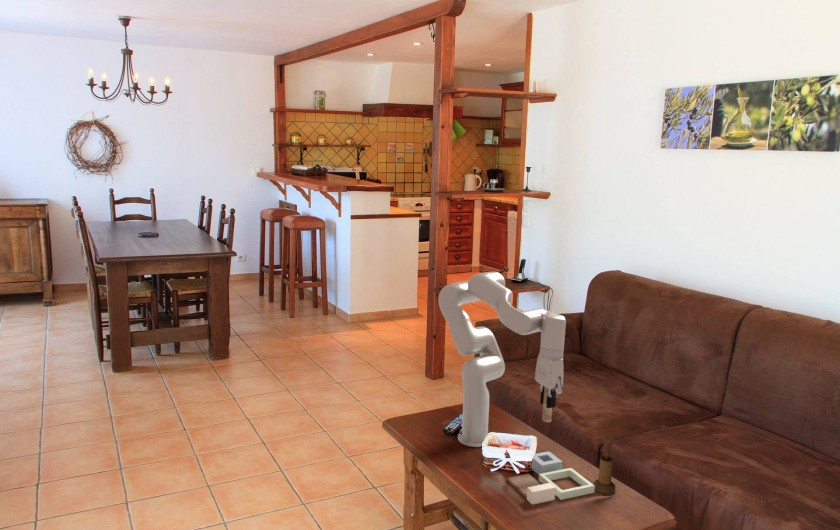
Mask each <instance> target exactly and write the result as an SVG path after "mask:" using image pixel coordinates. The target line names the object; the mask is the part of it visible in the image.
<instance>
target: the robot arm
mask: <svg viewBox="0 0 840 530" xmlns="http://www.w3.org/2000/svg"><path fill="white" fill-rule="evenodd" d="M513 297H514V296H513V292H512V290H510V289H509V288H508V287H506V280H505V278H504V276H503V275H502V274H501V273H500V272H497V271H486V272H479V273H475V274H474V275H472V276H471V277H470V278H469V280H463V281H457V282H452V283H449V284H447V285H445V286H444V287H443V288H442V289H441V290H440V292H439V294H438V307H439V310H440V312H441V314H442V316H443V318H444V320H445V321H446V323H447V326H448V330H449V332H450V335H451V337H452V339H453V342H454V345H455V348H456V350H457V352H458V353H459V354H460V356H464V357H466V356H467V357H468V356H473V355H476V354H479V356H476V357H472V358H470V359H468V360H467V361H465V362H464V363H463V364H462V367H461V379H462V385H463V386H462V387H463V388H462V389H463V394H462V395H463V396H462V399H463V400H462V422H461V423H460V427H462V429H461V432H462V435H461V434H460V433H458V435H457V441H458V442H459V443H460V444H462V445H463V446H467V447H471V448H482V447H481V445H482V442H483V440H484V439H485V437H486V436H487V434H489V413H490V392H489V389H488V387H487V384H486V383H488V382H491V381H494V380H497V379H500V377H503V375H504V373H505V369H506V364H505V361H504V358H503V355H502V352H501V350H500V348H499V345H498V342H497V339H496V337H495V335H494V333H493V332H492V331H491V329H489V328H488V327H486V326H475V327H474V325H473V324H472V320H471V317H470V316H469V315H468V313H467V312H466V310H464V309H463V308H462V307H461V306H462V305H467V304H473V303H477V302H483V303H485V304H486V305H488V306H490V308H492V309H494V310H495V312H496V315H497V318H498V319H499V321H500V322H501V323H502V325H503V326H505V327H506V328H508V329H509V330H511V331H512V332H514V333H516V334H519V335H521V336H527V335H531V334H535V333H539V332H540V346H539V347H540V348H539V353H538V356H537V360H536V363H535V364H536V365H535V374H534V380H535V381H536V383H538V384H539V391H540V399H539V404H540V405H543V401H544V389H545V387H546V388H547V389H548V396H547V403H546V408H552V409H553V408H556V403H557V397H558V395H559V394H562V393H563V390H562V388H563V386H564V370H565V369H564V353H565V351H564V350H565V341H566V338H565V336H566V326H567V319H566V317H565V316H564V315H561V314H558V313H553V312H550V311H548V310H546V309H544V308H538V307H537V308H534V309H529V310H524V311H522V310H521V311H520V310H519V309H518V308H515V307H514V306H513V305H511V304H512V302H513ZM552 390H554V391H552Z"/></svg>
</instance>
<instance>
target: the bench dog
mask: <svg viewBox="0 0 840 530" xmlns="http://www.w3.org/2000/svg"><path fill="white" fill-rule="evenodd" d="M555 498H556V495H555V487H554V486H553V485H552V484H551V483H547V484H542V483H541V485H537V486H532V487H528V488H527V499H526V500H527V501H528V503H529V504H531V505H536V504H541V503H546V502H551V501H554V500H555Z"/></svg>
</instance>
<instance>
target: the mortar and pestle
mask: <svg viewBox="0 0 840 530" xmlns="http://www.w3.org/2000/svg"><path fill="white" fill-rule="evenodd" d="M602 444H603V446H604V449H603V455H601V456H600V457H599V467H598V468H599V469H598V479H596V480H595V481H593V485H594V486H595V489H594V491H597V492H598V493H601V496H602V497H611V496H614V495H615V494H616V493H615V492H616V484H615V483H614V482H613V481H612V475H613V474H612V473H613V465H614V459H613V457H612V456H611V453H612V451H611V450H610V449H611V448H612V446H613V444H614V442H613V439H612V438H611V437H610V436H605V437H603V439H602Z"/></svg>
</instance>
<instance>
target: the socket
mask: <svg viewBox="0 0 840 530" xmlns="http://www.w3.org/2000/svg"><path fill="white" fill-rule="evenodd" d="M534 454H535V455H534V457H533V459H532V469H531V470H533V472H535V473H536V474H537V475H538V476H539V474H542V473H547V472H552V471H557V470H562V469H563V465H564V464H563V463H564V462H563V461H562V460H561V459H560V458H559V457H557V455H555V454H554V453H552V452H550V450H549V451H544V452H539V453H534Z"/></svg>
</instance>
